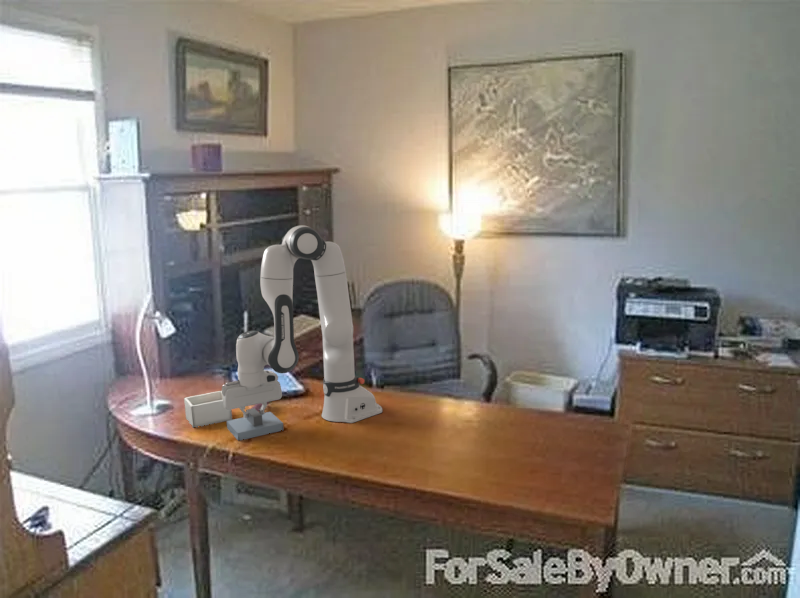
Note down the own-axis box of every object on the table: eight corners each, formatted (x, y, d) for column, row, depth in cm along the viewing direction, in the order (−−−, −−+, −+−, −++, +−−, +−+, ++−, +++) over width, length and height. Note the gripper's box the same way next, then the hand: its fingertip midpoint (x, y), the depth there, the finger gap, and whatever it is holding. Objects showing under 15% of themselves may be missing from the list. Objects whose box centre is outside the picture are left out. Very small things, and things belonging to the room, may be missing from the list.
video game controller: (258, 419, 237) (265, 403, 235) (247, 413, 237) (254, 397, 235) (268, 409, 246) (275, 394, 245) (258, 404, 247) (264, 389, 245)
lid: (270, 418, 233) (269, 402, 232) (283, 430, 222) (282, 413, 221) (227, 428, 225) (225, 411, 224) (238, 440, 214) (236, 423, 213)
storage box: (223, 410, 242) (222, 390, 241) (232, 419, 233) (230, 398, 231) (185, 418, 235) (184, 397, 234) (193, 428, 226) (191, 406, 224)
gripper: (223, 386, 212) (227, 425, 215) (282, 375, 222) (284, 412, 225) (218, 381, 217) (221, 419, 220) (275, 370, 228) (278, 407, 230)
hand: (254, 415), depth 223 cm, fingers open, 4 cm apart
